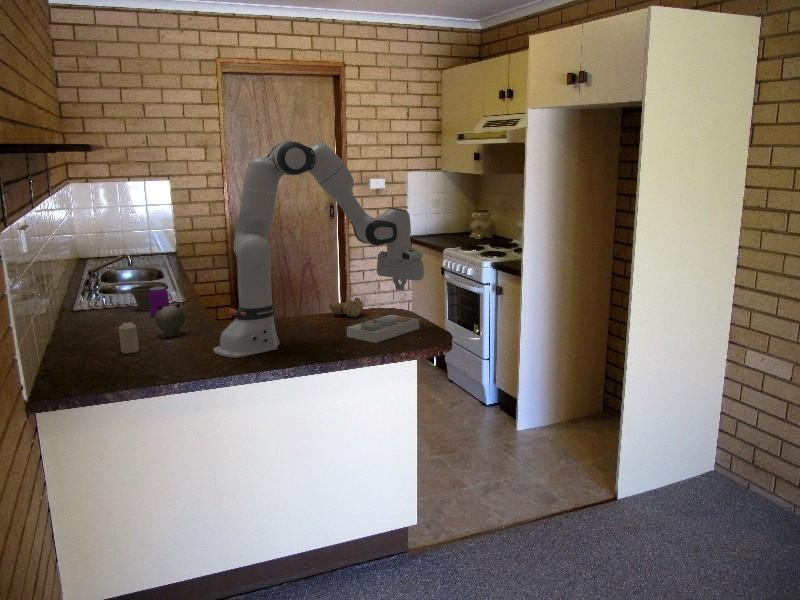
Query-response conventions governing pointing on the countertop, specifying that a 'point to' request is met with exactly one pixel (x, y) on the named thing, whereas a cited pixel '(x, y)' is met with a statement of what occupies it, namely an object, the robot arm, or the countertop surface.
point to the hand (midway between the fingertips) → (399, 290)
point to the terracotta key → (401, 319)
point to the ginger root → (348, 307)
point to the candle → (128, 338)
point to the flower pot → (142, 296)
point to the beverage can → (157, 299)
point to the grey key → (386, 322)
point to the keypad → (382, 330)
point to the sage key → (371, 326)
